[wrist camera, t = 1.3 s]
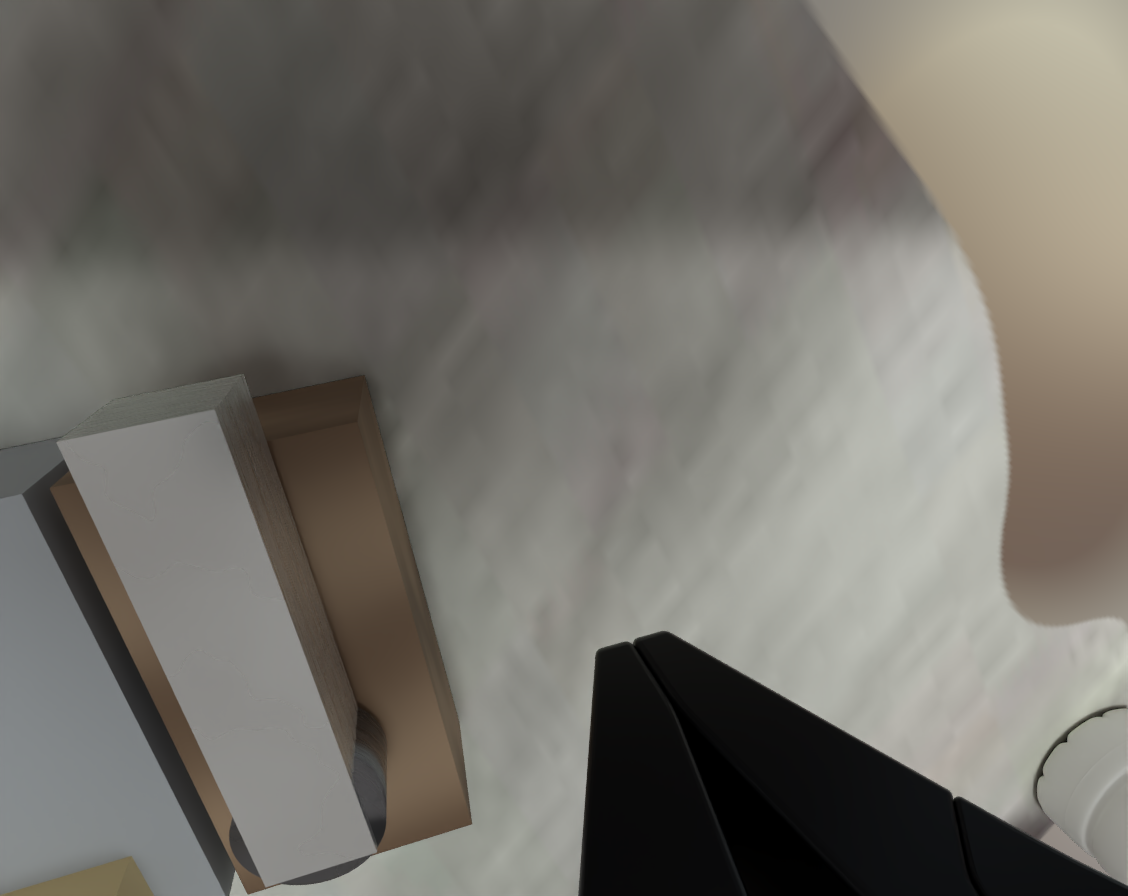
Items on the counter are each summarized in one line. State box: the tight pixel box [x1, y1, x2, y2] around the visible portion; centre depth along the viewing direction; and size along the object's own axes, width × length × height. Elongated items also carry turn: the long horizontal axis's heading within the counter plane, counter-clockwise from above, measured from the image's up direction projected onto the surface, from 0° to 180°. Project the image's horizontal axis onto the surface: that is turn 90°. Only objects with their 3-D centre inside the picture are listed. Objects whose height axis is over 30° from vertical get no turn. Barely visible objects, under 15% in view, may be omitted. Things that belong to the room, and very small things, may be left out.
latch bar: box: [56, 374, 387, 887], centre depth 14 cm, size 11×3×2 cm, turn 9°
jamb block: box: [50, 375, 472, 894], centre depth 18 cm, size 12×6×4 cm, turn 9°
